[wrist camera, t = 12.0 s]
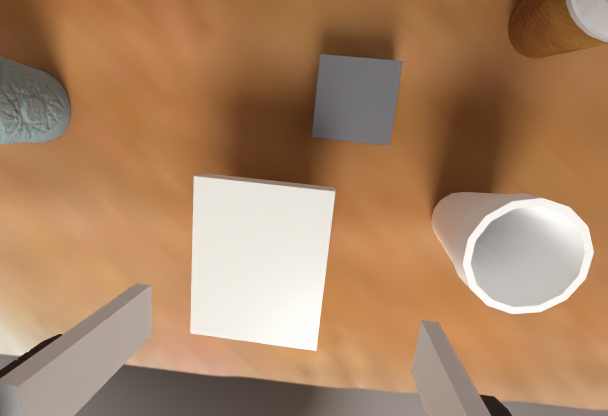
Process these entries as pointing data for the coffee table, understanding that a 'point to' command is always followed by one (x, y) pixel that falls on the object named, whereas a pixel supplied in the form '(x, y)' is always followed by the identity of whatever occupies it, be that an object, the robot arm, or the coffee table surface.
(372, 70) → the stand
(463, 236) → the foam cup
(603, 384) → the coffee table surface
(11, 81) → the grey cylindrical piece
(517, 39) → the disposable coffee cup
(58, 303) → the coffee table surface
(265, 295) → the lid
